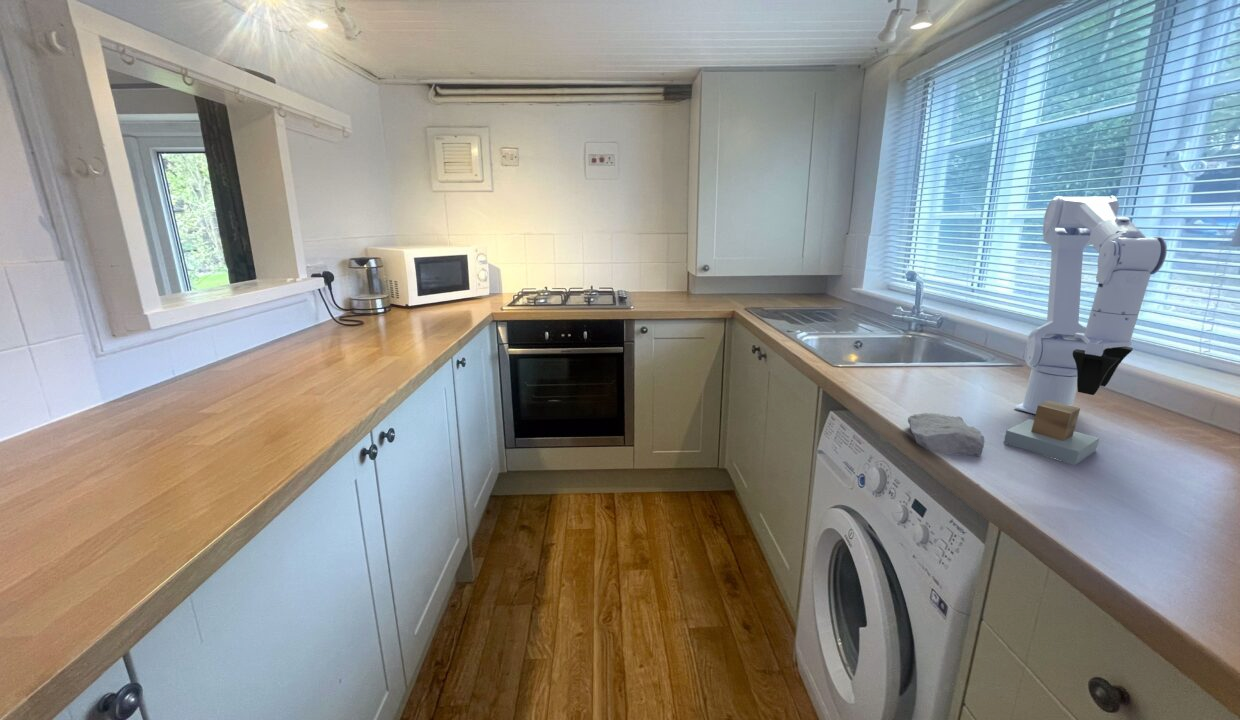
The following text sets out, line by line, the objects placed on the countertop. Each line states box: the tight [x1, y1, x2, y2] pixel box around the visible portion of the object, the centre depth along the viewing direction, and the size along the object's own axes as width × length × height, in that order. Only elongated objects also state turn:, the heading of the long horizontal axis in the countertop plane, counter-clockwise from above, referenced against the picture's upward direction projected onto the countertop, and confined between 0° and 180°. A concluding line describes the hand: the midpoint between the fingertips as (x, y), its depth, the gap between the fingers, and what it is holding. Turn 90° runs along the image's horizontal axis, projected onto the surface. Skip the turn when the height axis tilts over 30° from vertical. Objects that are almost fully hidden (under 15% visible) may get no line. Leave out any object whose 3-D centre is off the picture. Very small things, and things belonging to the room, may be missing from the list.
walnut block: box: [1031, 401, 1081, 441], centre depth 87 cm, size 4×4×5 cm
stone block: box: [907, 412, 985, 457], centre depth 90 cm, size 12×5×10 cm
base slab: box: [1003, 418, 1100, 466], centre depth 88 cm, size 10×10×3 cm
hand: (1091, 388), depth 87 cm, fingers open, 7 cm apart
